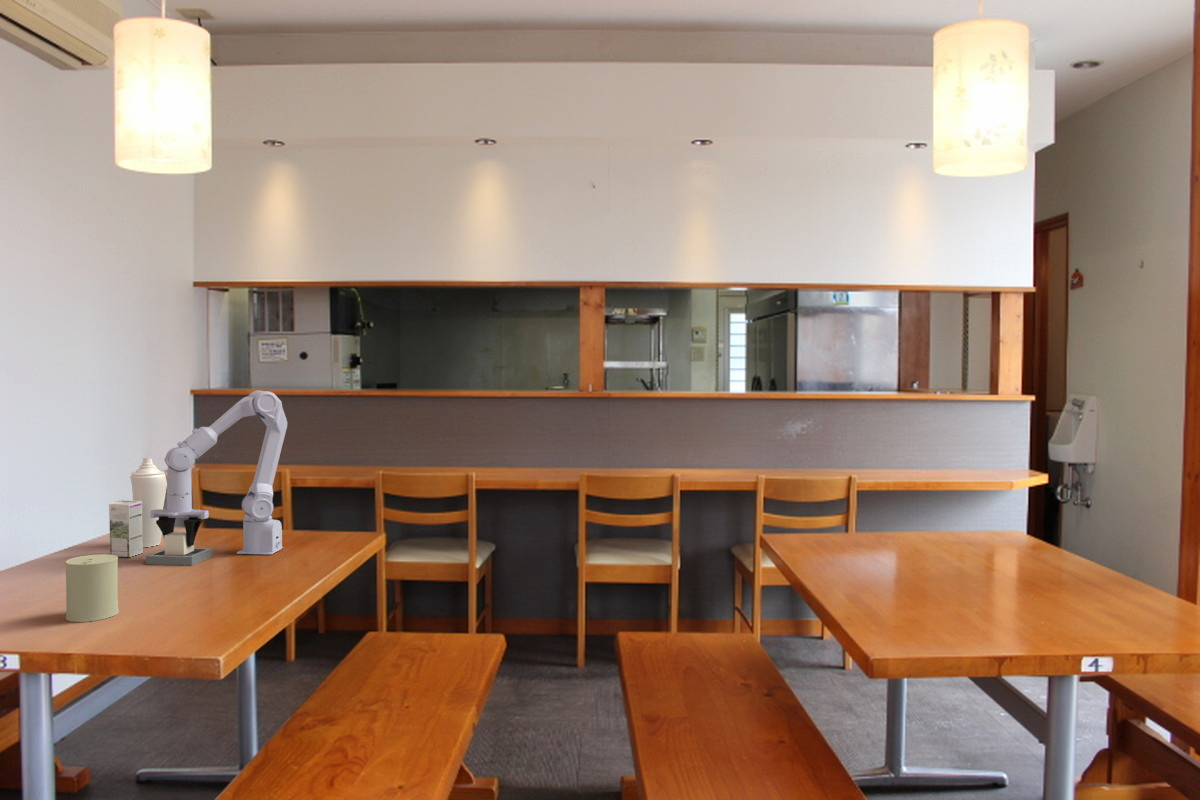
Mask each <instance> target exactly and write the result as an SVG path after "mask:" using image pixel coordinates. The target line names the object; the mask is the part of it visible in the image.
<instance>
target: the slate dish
mask: <svg viewBox="0 0 1200 800" xmlns="http://www.w3.org/2000/svg"><path fill="white" fill-rule="evenodd" d="M210 557H211V558H213V548H212V547H211V548H210V547H207V548H205V547H204V548H203V547H197V548H196V547H194V551H192V552H190V553H187V554H185V555H165V548H164V549H161V550H158V551H155V552H152V553H150V554H148V555H145V565H146V564H163V565H164V566H187V565H191V566H194V565H196V564H199V563H201V562H204V561H206V560H208V559H211V558H210ZM203 560H204V561H203ZM163 565H162V566H163Z"/></svg>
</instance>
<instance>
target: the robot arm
mask: <svg viewBox="0 0 1200 800" xmlns="http://www.w3.org/2000/svg"><path fill="white" fill-rule="evenodd" d="M251 416H252V417H253V416H258V417H259V418H260V420H261V421H262V422H263V423H264V425H265V426H266V429H265V434H264V438H263V441H262V445H261V450H260V454H259V457H258V462H257V466H256V469H255V474H254V478H253V481H252V483H251V485H250V487H249V488H248V492H247V494H246V495H245V496H244V498H243V499H242V501H241V509H242V511H243V512H244V513H245V515H244V517H243V519H242V520H243V523H242V524H243V526H242V527H243V528H242V530H243V533H242V537H243V538H242V540H243V542H242V543H243V546H242V547H243V548H242V549H241V550H239V551H237V552H236V555H237V554H238V555H272V554H275V553H276V552H278V551H281V550H283V549H284V547H283V527H282V526H283V525H282V522H281V521H280V520H278V519H273V516H272V514H273V512H274V503H273V499H274V498H273V497H274V490H273V489H274V487H273V484H274V482H275V481H274V480H275V478H276V477H275V476H276V472H277V469H278V465H279V460H280V455H281V452H282V448H283V443H284V440H285V436H286V432H287V429H288V420H287V417H286V414H285V411H284V408H283V403H282V400H281V399H280V398H279V397H278V396H277V395H276V394H275V393H274V392H272V391H269V390H268V391H266V390H265V391H263V390H259V389H258V390H254V391H252V392H250V393H249V395H248V396H245V397H242V399H240V400H239V401H238V402H236V403H235V404H234V405H233V406H232V407H230V408H229V409H228V410H227V411H226V412H224V413H223V414H222V415H221V416H220V417H219V418H217V419H216V420H215V421H214V422H213V423H212V424H210V425H209V426H200V427H199V428H194V429H192V431H191V432H192V433H191V434H190V435H189V436H187V437H186V438H185V439H183V441H178V442H177V443H176V445H177V447H173V448H170V449H169V450H168V451H167V453H166V455H165V457H164V462H165V464H166V466H167V469H166V473H167V476H166V480H167V488H166V508H163V509H155V510H151V511H150V516H151V518H159V519H158V520H157V521H156V524H157V525H158V527H159V528H160V530H161V532H162V537H164V535H167V534H170V533H172V532H175V531H174V530H175V524H176V519H185V520H183V525H184V528H185V532H186V541H187V547H190V546H193V545H194V546H195V542H196V537H197V534H198V532H199V529H200V527H201V525H202V523H203V521H204V520H205V519H208V518H209V514H210V513H209V510H205V509H204V510H203V509H197V508H195V509H194V508H193V504H192V503H193V502H192V496H193V495H192V494H193V493H192V489H193V487H192V470H191V469H192V466H193V465H194V462H195V460H196V459H197V460H198V459H199V458H200V457H201V456H203V454H205V453H206V452H207V451H208V450H210V449H211V448H212V447H213V446H215V445H216V444H217V443H218V438H219V437H218V436H220V435H221V434H222V433H223V432H224V431H226V430H228V429H230V427H232V426H233V425H235V423H237V422H238V421H239V420H240V419H242V418H245V417H251ZM282 548H283V549H282Z"/></svg>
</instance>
